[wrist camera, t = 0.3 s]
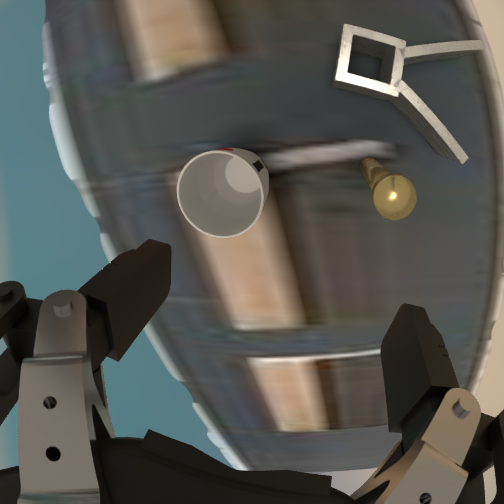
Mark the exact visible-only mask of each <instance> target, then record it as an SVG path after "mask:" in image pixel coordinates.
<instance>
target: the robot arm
mask: <svg viewBox="0 0 504 504" xmlns="http://www.w3.org/2000/svg"><path fill="white" fill-rule="evenodd" d="M170 285H171V246H170V245H169V244H167V243H163V242H159V241H155V240H152V239H149V240H147V241H146V242H144V243H143V244H142V245H141V246H140V247H138V248H137V249H136V250H135V249H132V250H129V251H127V252H124V253H122V254H120V255H118V256H117V257H116V258H115V259H114V260H112V261H111V263H109V264H108V265H106V266H105V267H104V269H103V270H101V271H99V272H98V273H97V274H96V275H95V276H94V277H92V278H91V279H90V280H89V281H88V282H87V283H85V284H84V285H83V286H82V287H81V288H80V289H79V290H78V291H73V290H61V291H57V292H54V293H52V294H51V295H49V296H47V297H46V298H45V299H44V301H43V300H37V299H31V298H27V297H26V294H25V290H24V287H23V285H22V284H21V283H19V282H16V281H7V282H3V283H1V284H0V339H1V338H2V337H3V339H4V341H5V343H6V345H7V347H8V348H7V349H6V350H5V351H4V352H3V353H2V355H0V425H1V424H2V422H3V421H4V420H5V418H6V417H7V415H8V414H9V412H10V411H11V409H12V408H13V407H14V405H15V404H16V402H17V401H18V457H19V466H15V467H11V468H7V469H2V470H0V504H485V491H484V479H483V473H484V472H485V471H486V470H488V469H489V468H491V467H492V466H493V465H494V468H495V477H496V486H497V493H496V496H495V498H494V500H493V501H492V502H491V503H490V504H504V410H503V411H502V412H501V413H500V414H499V415H498V416H497V417H496V418H494V417H492V416H489V415H486V414H484V413H481V409H480V406H479V403H478V402H477V400H476V398H475V397H474V396H473V395H472V394H471V393H470V392H468V391H466V390H464V389H461V388H459V385H458V382H457V378H456V375H455V372H454V369H453V366H452V363H451V360H450V358H448V356H449V355H448V352H447V349H446V348H445V344H444V341H443V338H442V336H441V334H440V333H439V332H438V330H437V329H436V328H435V327H434V325H433V324H431V323H430V321H429V318H428V315H427V313H426V310H425V309H424V308H423V307H419V306H414V305H410V304H406V303H404V304H403V305H402V306H401V307H400V308H399V310H398V312H397V314H396V316H395V318H394V320H393V322H392V324H391V325H390V327H389V329H388V331H387V333H386V335H385V336H384V339H383V341H382V345H381V361H382V368H383V376H384V384H385V393H386V403H387V414H388V426H389V432H396V433H402V439H401V440H400V441H399V442H398V443H397V444H396V445H395V447H394V448H393V449H392V451H391V452H390V453H389V455H388V456H387V457H386V459H385V460H384V461H383V462H382V464H381V465H380V466H379V467H378V469H377V470H376V471H375V472H374V473H373V475H372V476H371V477H370V478H369V479H368V480H367V481H366V482H365V483H364V484H363V486H361V487H360V488H359V489H358V490H356V491H355V492H354V493H353V494H352V495H351V496H348V495H347V494H345V493H343V492H341V491H339V490H337V489H335V488H332V487H331V479H332V476H326V475H318V474H310V473H303V472H297V471H291V470H275V471H241V470H236V469H233V468H230V467H229V466H227V465H225V464H223V463H221V462H219V461H218V460H216V459H214V458H212V457H210V456H209V455H207V454H205V453H203V452H202V451H200V450H198V449H197V448H195V447H193V446H192V445H189V444H186V443H183V442H180V441H178V440H175V439H172V438H169V437H167V436H164V435H162V434H159V433H157V432H154V431H152V430H150V429H149V430H148V431H147V433H146V435H145V437H144V439H142V438H134V437H116V435H115V431H114V428H113V425H112V422H111V419H110V414H109V409H108V403H107V396H106V389H105V382H104V374H103V366H102V361H103V360H104V359H105V358H106V356H107V357H109V358H112V359H114V360H116V361H119V360H120V359H121V358H122V356H123V355H124V354H125V352H126V351H127V350H128V348H129V347H130V346H131V344H132V343H133V341H134V340H135V339H136V337H137V336H138V335H139V333H140V332H141V331H142V329H143V328H144V327H145V325H146V324H147V323H148V322H149V320H150V319H151V318H152V316H153V315H154V314H155V312H156V311H157V310H158V308H159V307H160V306H161V304H162V303H163V302H164V301H165V299H166V298H167V296H168V293H169V290H170ZM18 399H19V400H18Z"/></svg>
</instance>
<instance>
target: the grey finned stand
mask: <svg viewBox="0 0 504 504" xmlns="http://www.w3.org/2000/svg"><path fill="white" fill-rule="evenodd" d="M484 49H485V48H484V45H483V43H482V40H470V41H454V42H442V43H433V44H425V45H417V46H410V47H406V41H404V40H401V39H398V38H395V37H392V36H389V35H385V34H382V33H379V32H375V31H372V30H368V29H364V28H361V27H357V26H353V25H348V24H344V26H343V30H342V34H341V38H340V42H339V48H338V55H337V61H336V67H335V73H334V79H333V85H332V87H334V88H339V89H343V90H347V91H351V92H355V93H359V94H362V95H366V96H370V97H373V98H376V99H380V100H386V99H388V100H389V101H390V102H391V103H392V104H393V105H394V106H395V107H396V108H397V109H398V110H399V111H400V112H401V113H402V114H403V115H404V116H405V117H406V118H407V119H408V120H409V122H410V123H411V124H412V125H413V126H414V127H415V128H416V129H417V130H418V131H419V133H420V134H421V135H422V136H423V137H424V138H425V139H426V141H427V142H428V143H429V144H430V145H431V146H432V148H433V149H434V150H435V151H436V153H437V154H439V155H442V156H444V157H446V158H449V159H451V160H453V161H456V162H458V163H460V164H463V163H464V162H465V161H466V160H467V159H468V157H467V155H466V154H465V152H464V151H463V150H462V148H461V147H460V146H459V144H458V143H457V142H456V140H455V139H454V138H453V137H452V135H451V134H450V133H449V131H448V130H447V129H446V128H445V127H444V125H443V124H442V123H441V122H440V121H439V119H438V118H437V117H436V116H435V115H434V114H433V112H432V111H431V110H430V109H429V108H428V107H427V106H426V104H425V103H424V102H423V101H422V100H421V99H420V98H419V97H418V96H417V95H416V94H415V93H414V92H413V91H412V90H411V89H410V87H409V86H408V85H407V84H406V83H405V82H404V81H403V80H402V79H401V77H402V70H403V65H409V64H415V63H421V62H428V61H435V60H442V59H451V58H459V57H462V56H465V55H468V54H471V53H474V52H477V51H481V50H484ZM350 51H353V52H357V53H361V54H365V55H369V56H372V57H376V58H379V59H381V65H380V71H379V77H378V81H376V80H372V79H369V78H365V77H361V76H358V75H354V74H350V73H347V70H348V64H349V58H350Z"/></svg>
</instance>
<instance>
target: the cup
mask: <svg viewBox="0 0 504 504" xmlns="http://www.w3.org/2000/svg"><path fill="white" fill-rule="evenodd" d="M268 191H269V174H268V170H267V167H266V165H265V163H264V162H263V161H262V159H261V158H260V157H259V156H257V155H256V154H255V153H253V152H251V151H248V150H244V149H238V148H223V149H218V150H214V151H209V152H205V153H202V154H200V155H198V156H196V157H194V158H193V159H192V160H190V161H189V162H188V163H187V164H186V166H185V167H184V168H183V170H182V172H181V174H180V176H179V180H178V184H177V198H178V203H179V206H180V208H181V211H182V213H183V214H184V216H185V218H186V219H187V220H188V221H189V223H190V224H191V225H192V226H194V227H195V228H196V229H197V230H199V231H200V232H202V233H204V234H206V235H209V236H212V237H217V238H231V237H235V236H238V235H241V234H243V233H245V232H246V231H248V230H249V229H250V228H251V227H252V226H253V225H254V224H255V223H256V221H257V220H258V218H259V216H260V214H261V211H262V209H263V206H264V204H265V201H266V199H267V196H268Z"/></svg>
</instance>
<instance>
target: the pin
mask: <svg viewBox="0 0 504 504" xmlns="http://www.w3.org/2000/svg"><path fill="white" fill-rule="evenodd" d="M359 170H360V173H361V174H362V176H363V177H364V179H365V180H366V182H367V183H368V185H369V186H370V188H371V189H372V200H373V203H374V205H375V207H376V209H377V211H378V212H379V213H380V214H381V215H382V216H383V217H385V218H387V219H390V220H399V219H403V218H405V217H406V216H408V215H409V214H410V213H411V212H412V210H413V209H414V207H415V204H416V199H417V196H416V191H415V188H414V186H413V184H412V183H411V182H410V181H409V180H408V179H406V178H405V177H404V176H402V175H400V174H397V173H390V172H389V171H388V170H387V169H386V168H385V167H383V166H382V165H381V164H380V163H379V162H377V161H376V160H375V159H374V158H371V157H366V158H364V159H362V160H361V162H360V164H359Z"/></svg>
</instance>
